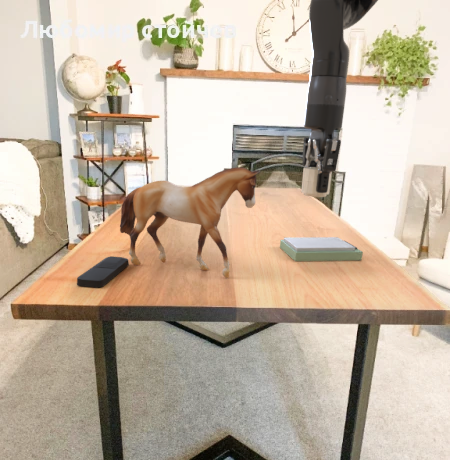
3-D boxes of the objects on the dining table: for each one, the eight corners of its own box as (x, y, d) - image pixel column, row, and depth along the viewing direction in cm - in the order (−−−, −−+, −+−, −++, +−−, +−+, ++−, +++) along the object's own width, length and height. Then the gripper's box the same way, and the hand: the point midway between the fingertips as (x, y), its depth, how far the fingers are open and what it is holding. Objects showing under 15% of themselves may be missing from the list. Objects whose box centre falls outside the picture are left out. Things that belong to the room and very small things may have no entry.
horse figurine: (256, 273, 90) (263, 168, 82) (243, 284, 83) (250, 171, 75) (124, 253, 100) (119, 158, 92) (103, 262, 93) (97, 159, 85)
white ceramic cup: (322, 193, 97) (325, 167, 95) (333, 197, 92) (336, 170, 90) (297, 193, 96) (299, 166, 94) (306, 197, 91) (309, 169, 89)
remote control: (101, 290, 79) (130, 264, 92) (100, 281, 78) (129, 255, 91) (75, 288, 79) (107, 262, 93) (74, 279, 78) (107, 254, 92)
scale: (340, 247, 113) (341, 236, 112) (361, 260, 102) (363, 248, 101) (279, 247, 110) (280, 236, 109) (295, 261, 99) (296, 249, 98)
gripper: (359, 103, 81) (346, 195, 88) (328, 105, 95) (319, 186, 101) (321, 101, 80) (311, 195, 86) (295, 103, 93) (287, 185, 99)
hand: (315, 190), depth 94 cm, fingers closed on white ceramic cup, 6 cm apart
